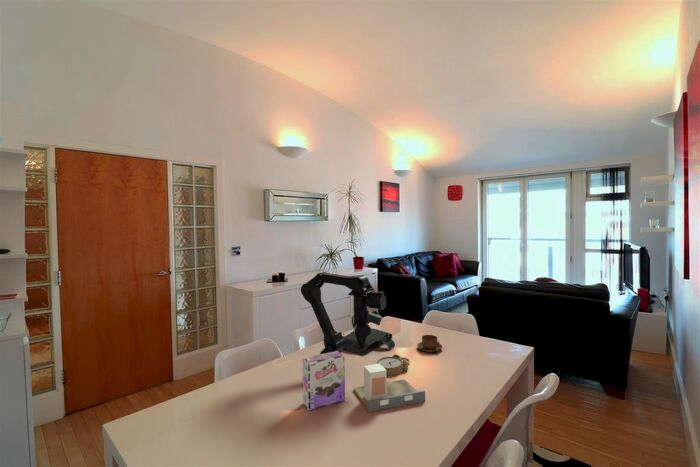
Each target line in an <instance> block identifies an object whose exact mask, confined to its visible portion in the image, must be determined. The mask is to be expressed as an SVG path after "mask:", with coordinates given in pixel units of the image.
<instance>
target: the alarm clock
mask: <svg viewBox="0 0 700 467" xmlns="http://www.w3.org/2000/svg"><path fill="white" fill-rule="evenodd" d="M376 364H381V365H382V366H383V367H384V368H385V369H386V371H387V376H395V375H398V374H401V373H403V371H408V369H409V366H410V359H409V358H407V357H401V356H400V355H399V354H393V355H392V356H384V357H381V358H379V359H377V361H376Z"/></svg>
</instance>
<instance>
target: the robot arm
mask: <svg viewBox="0 0 700 467" xmlns="http://www.w3.org/2000/svg"><path fill="white" fill-rule="evenodd" d="M325 283H326V284H331V285H337V286H343V287H347V289H348V290H350V292H349V293H348V296H350V297H351V296H352V299H353V300H352V302H353V303H352V304H353V306H352V311H353V315H352V316H351V324H352V328H353V331H354V333H355V336H356V338H357V341H358V343H359V346H360V348H361V349H364V345H365V340H366V337H367V336H368V335H370V334H371V326H370V325H369V324H370V323H372V324H375V325H376V326H380V325H381V322H382V319H383V318H382V316H381V315H380V314H378V313H379V312H378V311H377V310H380V311H381V310H385V308H386V306H387V298H386V295H385V293H384V291H376V290H375V289H374V287H373V285H372V284H371V283H370V280H369V278H368V276H366V275H365V274H358V275H355V274H354V275H344V274H343V275H342V274H336V273H329V272H326V271H322V272H318V273H317V274H316V275H315V276H314V277H312V278H311V279H310V280H309V281H307V282H305V283H303V284H302V285H301V288H300V294H301V295H302V296H303V298H304V300H305V301H306V302H308V304H310V305H311V306H310V307H311V308H312V311H313V313H314V315H315V318H316V319H317V322H318V324H319V327H320V330H321V332H322V333H323V345H324V348H323V349H322V350H321V351H319V354H325V353H330V352H335V351H338V352H340V353H341V354H342V351H343V350H342V349H343V348H344V345H345V343H344V341H345V340H344V339H343V333H342V332H341V331H339V332H337V330H335V328H334V326H333V324H332V322H331V319H330V317H329V314H328V312H327V309H326V307H325V305H324V303H323V301H322V290H321V288H322V287H324V284H325ZM369 309H372V311H369Z"/></svg>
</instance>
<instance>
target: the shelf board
mask: <svg viewBox="0 0 700 467" xmlns="http://www.w3.org/2000/svg"><path fill="white" fill-rule="evenodd" d="M353 391H354V393H355V394H356V396H357V397H358V399H360V402H361V403H362V404H363V406H364V408H366V410H367V411H368V401H367V399H366V398H365V397H364V385H363V386H357V387H353ZM417 391H418V390H417V389H416V388H414V386H412V385H411V384H410V383H409V382H408V381H407V380H406V379H399V380H392V381H387V397H390V396H395V395H401V394H406V393H412V392H417Z"/></svg>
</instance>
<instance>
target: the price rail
mask: <svg viewBox="0 0 700 467" xmlns="http://www.w3.org/2000/svg"><path fill="white" fill-rule="evenodd" d="M425 401H426V390H419V391H418V390H417V392H412V393H406V394H401V395H395V396H390V397H384V398H379V399H373V400H368V410H367V411H368V412H369V413H371V412H377V411H381V410H386V409H391V408H398V407H402V406H408V405H412V404H417V402H418V403H423V402H425ZM407 404H408V405H407Z"/></svg>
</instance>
